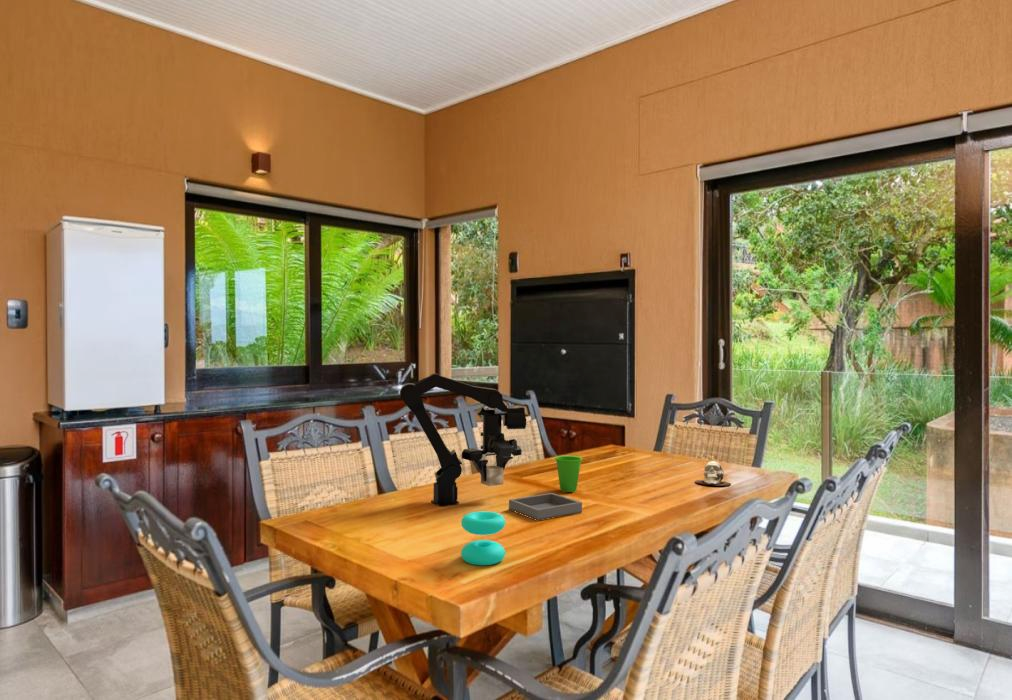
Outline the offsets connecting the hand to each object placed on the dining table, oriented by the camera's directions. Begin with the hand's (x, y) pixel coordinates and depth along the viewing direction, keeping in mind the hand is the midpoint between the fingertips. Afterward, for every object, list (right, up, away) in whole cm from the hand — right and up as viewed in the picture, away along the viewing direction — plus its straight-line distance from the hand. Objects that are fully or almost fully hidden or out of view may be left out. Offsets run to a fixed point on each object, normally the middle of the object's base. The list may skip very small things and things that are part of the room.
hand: (492, 480), depth 198 cm
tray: (+16, -7, -11) cm, 20 cm away
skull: (+77, -7, +28) cm, 82 cm away
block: (0, -1, 0) cm, 1 cm away
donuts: (-1, -8, -52) cm, 53 cm away
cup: (+25, -7, +15) cm, 30 cm away
